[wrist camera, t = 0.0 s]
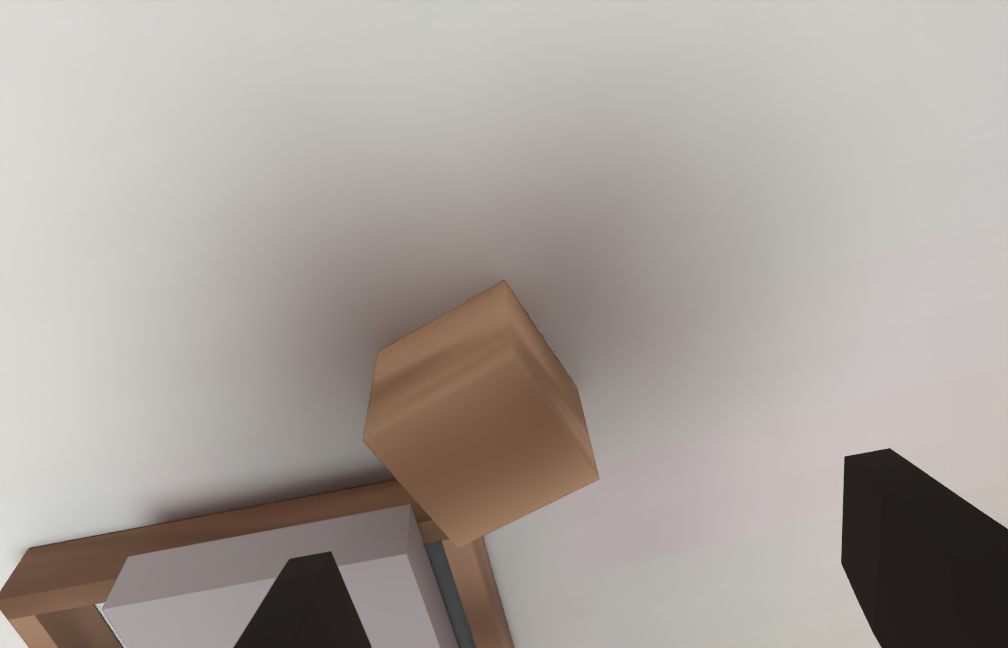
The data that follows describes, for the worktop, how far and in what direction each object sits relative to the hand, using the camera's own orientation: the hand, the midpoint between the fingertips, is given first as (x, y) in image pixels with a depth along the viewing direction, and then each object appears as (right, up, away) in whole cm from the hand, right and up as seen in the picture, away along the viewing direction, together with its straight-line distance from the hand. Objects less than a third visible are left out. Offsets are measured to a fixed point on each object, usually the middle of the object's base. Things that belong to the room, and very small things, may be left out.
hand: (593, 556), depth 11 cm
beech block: (-2, +2, +11) cm, 11 cm away
